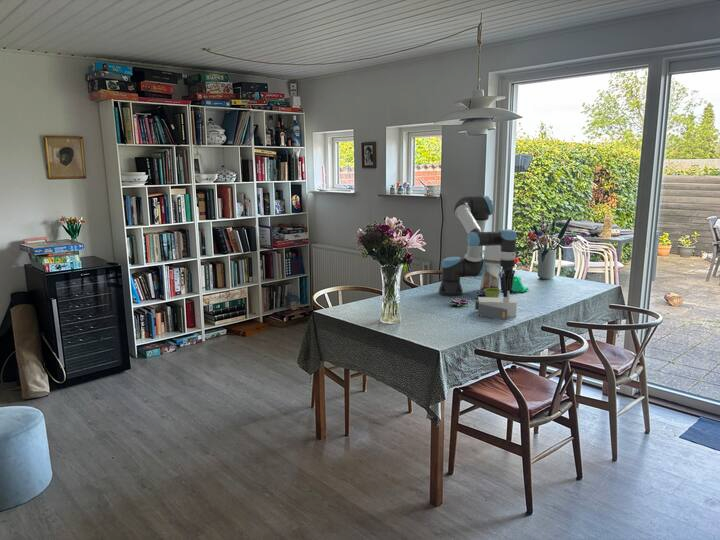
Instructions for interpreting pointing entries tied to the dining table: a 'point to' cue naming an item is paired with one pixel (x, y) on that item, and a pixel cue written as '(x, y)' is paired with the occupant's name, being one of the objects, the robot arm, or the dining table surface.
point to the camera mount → (518, 285)
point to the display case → (491, 267)
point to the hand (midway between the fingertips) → (506, 302)
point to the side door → (493, 311)
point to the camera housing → (498, 304)
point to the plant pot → (492, 292)
